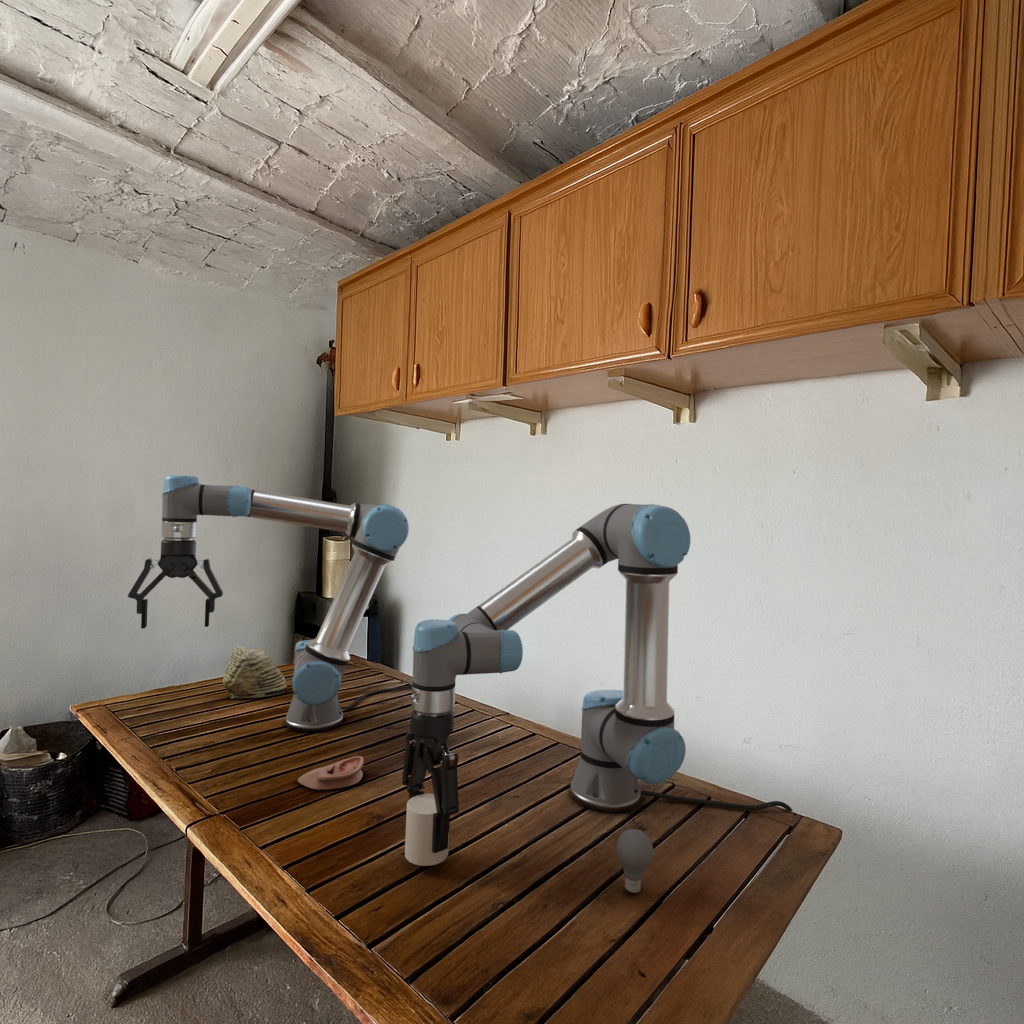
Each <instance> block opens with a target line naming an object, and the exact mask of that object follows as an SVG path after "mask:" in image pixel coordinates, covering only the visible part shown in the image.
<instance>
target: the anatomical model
mask: <svg viewBox="0 0 1024 1024" xmlns="http://www.w3.org/2000/svg"><path fill="white" fill-rule="evenodd" d="M363 766H364V757H363V756H361V755H356V756H352V757H347V758H346V759H342V760H340V761H336V762H334V763H331V764H328V765H326V766H322V767H318V768H315V769H312V770H310V771H308V772H306V773H304V774H302V775H300V776H299V777H298V778H297V782H298V784H300V785H302V786H304V787H306V788H309V789H312V790H319V791H321V790H333V789H335V790H336V789H342V788H346V787H350V786H353V785H356V784H358V783H359V782H360V781H361V780H362V779H363V775H364V773H363V771H362V768H363Z"/></svg>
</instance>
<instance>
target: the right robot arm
mask: <svg viewBox="0 0 1024 1024" xmlns="http://www.w3.org/2000/svg"><path fill="white" fill-rule="evenodd" d="M690 547H691V532H690V528H689V526H688V523H687V521H686V520H685V519H684V517H683V516H682V515H681V514H680V513H679V512H678V511H677V510H675V509H674V508H672V507H669V506H665V505H661V504H655V503H652V504H651V503H650V504H641V503H640V504H638V503H619V504H615V505H612V506H610V507H608V508H606V509H604V510H602V511H601V512H600V513H598V514H596V515H595V516H593V517H592V518H590V519H589V520H587V521H585V523H583V524H582V525H580V526H579V527H578V528H576V529H575V530H574V531H572V533H571V537H570V539H569V540H568V541H566V542H565V543H564V544H563V545H562V544H561V546H559V547H558V548H556V549H555V550H554V551H552V552H551V553H549V554H548V555H547V556H545V557H544V558H543V559H541V560H540V561H538V562H537V563H536V564H534V565H533V566H532V567H530V568H528V569H527V570H526V571H525V572H523V573H522V574H520V575H519V576H517V577H516V578H515V579H514V580H512V581H510V582H509V583H508V584H507V585H505V586H504V587H502V588H501V589H500V590H498V591H497V592H496V593H494V594H493V595H491V596H490V597H489V598H487V599H486V600H484V601H483V602H481V603H480V604H479V605H477V606H476V607H474V608H472V609H471V610H469V612H467V613H457V614H454V615H452V616H451V617H450V618H448V619H438V618H436V619H435V618H433V619H425V620H422V621H421V620H420V621H419V622H418V623H417V624H416V625H415V629H414V635H413V636H414V638H413V646H412V650H413V651H412V683H411V685H412V688H411V695H410V699H411V706H410V707H411V709H412V710H411V712H410V721H409V723H410V724H409V725H410V726H409V730H410V731H409V732H406V733H405V753H404V760H403V761H404V762H403V768H402V777H401V784H402V785H403V786H406V791H407V793H408V800H409V799H411V798H412V797H414V796H417V795H421V794H425V791H424V789H426V787H425V785H424V782H425V778H426V776H427V773H428V774H430V777H431V783H432V784H431V785H432V790H433V794H434V797H435V804H436V811H437V813H433V839H432V852H433V853H437V852H440V851H443V850H445V849H448V850H449V847H448V833H449V834H450V825H451V816H453V815H456V814H458V813H459V811H460V807H459V806H460V805H459V781H458V765H459V759H460V757H459V754H458V753H457V752H455V753H452V752H451V751H450V750H449V744H448V738H449V737H450V736H451V734H453V732H454V725H455V723H454V722H455V721H454V720H455V712H454V711H453V710H454V709H455V708H456V707H455V706H456V678H457V676H465V675H482V674H504V673H509V672H515V671H517V670H518V669H519V668H520V667H521V664H522V661H523V652H524V651H523V650H524V648H523V647H524V646H523V642H522V639H521V636H520V635H519V633H518V632H517V631H516V630H513V629H511V628H512V627H514V626H515V625H517V624H518V623H519V622H521V621H522V620H523V619H525V618H526V617H527V616H529V615H530V614H532V613H533V612H534V611H536V610H537V609H538V608H540V607H541V606H543V604H545V603H546V602H548V601H549V600H551V599H552V598H553V597H555V596H556V595H557V594H559V593H561V591H563V590H564V589H565V588H567V587H568V586H569V585H572V584H573V583H574V582H575V581H576V580H577V579H579V578H580V577H582V576H583V575H585V574H586V573H587V572H588V571H590V570H591V569H598V570H599V569H601V568H602V567H604V566H605V565H606V564H607V563H610V562H613V561H616V560H617V572H618V574H619V575H620V576H621V577H622V578H623V579H624V581H625V587H624V588H625V591H624V593H625V594H624V633H623V634H624V637H623V638H624V640H623V688H622V690H621V689H620V690H619V689H597V690H592V691H589V692H586V694H585V695H584V696H583V700H582V707H581V732H580V733H581V734H580V754H579V762H578V763H577V765H576V768H575V771H574V773H573V774H572V776H571V781H570V791H569V792H570V796H571V798H572V799H573V801H575V802H576V803H578V804H579V805H581V806H583V807H584V808H588V809H590V810H592V811H593V810H594V811H596V812H597V811H598V812H603V813H622V812H627V811H631V810H633V809H635V808H637V807H638V806H639V805H640V802H641V796H645V797H652V798H659V799H663V800H670V801H674V802H680V803H689V804H698V805H706V806H715V807H722V808H727V809H736V810H745V811H760V810H764V809H768V808H771V807H772V808H773V807H781V808H783V809H785V810H786V811H787V812H793V811H794V810H793V809H792V807H791V806H790V805H789V804H787V803H785V802H783V801H781V800H780V801H779V800H773V801H767V802H764V803H760V804H743V803H742V804H741V803H733V802H726V801H719V800H714V799H713V800H712V799H704V798H694V797H686V796H680V795H679V796H678V795H673V794H667V793H662V792H657V791H649V790H644V789H641V787H640V784H639V781H638V780H640V781H641V782H643V783H646V784H649V785H657V784H662V783H664V782H666V781H668V780H670V779H671V778H673V776H674V775H675V774H676V773H677V772H678V771H679V770H680V768H681V766H682V765H683V762H684V760H685V756H686V751H687V750H686V742H685V739H684V737H683V735H681V733H680V732H679V730H677V729H675V708H674V707H673V706H672V705H671V704H670V703H669V702H668V675H669V674H668V667H669V666H668V665H669V664H668V663H669V625H670V624H669V621H670V583H671V581H672V580H673V579H674V578H676V576H678V574H679V573H678V571H679V564H680V563H683V561H684V560H685V556H687V555H688V554H689V551H690ZM769 805H770V806H769Z"/></svg>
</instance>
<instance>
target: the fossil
mask: <svg viewBox="0 0 1024 1024" xmlns="http://www.w3.org/2000/svg"><path fill="white" fill-rule="evenodd" d="M222 676H223V677H222V685H223V687H224V688H225V690H226V691H228V693H229V698H230V699H250V698H264V697H271V696H275V695H281V694H284V693H285V691H286V689H287V687H288V686H287V680H286V678H285V676H284V674H283V673H282V672H281V669H279V668H278V667H277V665H276V663H275V662H274V660H273V659H272V658H271V657H270V656H269V655H268V654H267V653H266V652H265V650H264V649H263V648H260V647H258V648H251V647H247V646H246V647H245V646H238V647H237V648H236V649H235V650H233V651H232V653H231V656H230V657H229V659H228V660H227V663H226V666H225V668H224V671H223V675H222Z"/></svg>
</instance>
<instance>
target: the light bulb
mask: <svg viewBox="0 0 1024 1024" xmlns="http://www.w3.org/2000/svg"><path fill="white" fill-rule="evenodd" d="M615 849H616V854H617V857H618V859H619V861H620V863H621V865H622V867H623V873H624V874H623V875H624V876H625V878H624V888H625V890H627V891H628V892H630V893H634V894H635V893H639V892H640V891H641V889H642V887H641V886H642V879H643V877H644V875H645V871H646V868H647V867H648V866H649V864H650V863H651V861H652V859H653V855H654V847H653V843H652V841H651V838H649V836H648V835H647V834H646V833H645V832H643V831H642V830H641V829H636V828H629V829H627V830H625V831H623V832H622V833H621V834H620V835H619V837H618V839H617V841H616V847H615Z"/></svg>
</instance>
